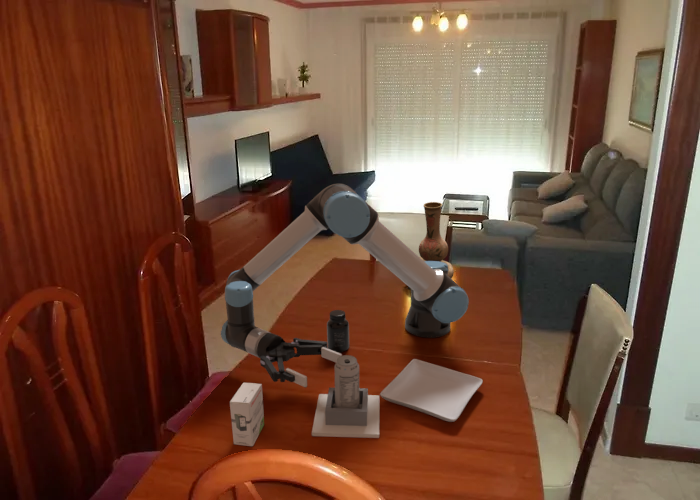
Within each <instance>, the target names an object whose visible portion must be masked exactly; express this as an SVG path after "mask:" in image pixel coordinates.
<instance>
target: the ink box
mask: <svg viewBox="0 0 700 500" xmlns="http://www.w3.org/2000/svg"><path fill="white" fill-rule="evenodd" d="M263 397H264V396H263V384H262V383H255V382H243V383H242V384H241V385H240V387H239V388H238V389H237V391H236V392H235V394H234V395H233V396H232V398H231V399H230V401H229V407H230V408H229V409H230V410H229V411H230V420H231V429H232V430H231V431H232V439H233V440H232V441H233V445H238V446H245V447H246V446H247V447H253V446H254V445H255V443H256V441H257V439H258V437H259V435H260V434H261V432H262V430H263V428H264V426H265V416H264V415H265V414H264V413H265V412H264V400H263V399H264V398H263Z"/></svg>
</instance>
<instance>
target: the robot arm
mask: <svg viewBox="0 0 700 500" xmlns="http://www.w3.org/2000/svg"><path fill="white" fill-rule="evenodd" d="M327 230H330V231H332V233H334V234H336V235H338V236H339V237H342V239H344V240H345V241H347V242H348V244H349V245H359V246H361V247H362V248H363V249H364V250H365V251H366V252H367V253H369V254H370V255H371V256H372V257H374V259H376V260H377V261H378V262H379V263H380V264H381V265H383V267H385V268H386V269H387V270H388V271H390V272H391V273H392V274H393V275H394V276H396V277H397V278H398V279H399V280H400V281H401V282H403V283H404V284H405V285H406V286H409V287H410V288H411V290H410V307H409V309H408V311H407V314H406V318H405V322H404V328H405V330H406V331H407V332H408V333H409V334H412V335H413V336H416V337H421V338H426V339H427V338H428V339H429V338H430V339H431V338H432V339H433V338H440V337H444V336H445V335H448V333H450V331H451V323H453V322H454V323H455V322H457V321H459V320H460V319H462V317H463V316H464V315H465V313H467V310H468V308H469V304H470V303H469V301H470V299H469V297H468V294H467V292H466V290H465V288H463V287H462V288H461V286H460V285H459V284H458V283H455V282H454V281H455V280H454V281H453V278H450V277H449V276H448V271H449V270H448V265H447V264H446V263H443V262H439V261H423V260H422V259H421V258H420V257H421V256H418V254H416V253H415V252H414V251H413V250H412V249H410V247H408V246H407V245H406V244H405V243H404V242H403V241H402V240H401V239H400V238H398V237H397V236H396V235H395V234H394V233H393V231H391V230H389V228H387V227H386V226H385V225H384V224H383V223H382V222H381V221H380V220H379V213H378V212H377V210H375V209H374V208H373V207H372V206H371V205H370V204H368V203H367V202H366V200H365V199H364V198H363V197H361V195H360V194H357V192H356V191H355V190H354V189H353V187H350V186H349V185H346V184H344V183H333V184H331V185H328V186H326V187H325V188H323V189H322V190H321V191H320V192H319V193H317V194H316V195H315V196H314V197H313V199H311V200H310V201H309V202H308V203H307V204H306V205H305V206H304V211H303V212H302V213H301V214H300V215H299V216H297V217H296V218H295V219H294V220H293V221H292V222H291V223H290V224H289V225H288V226H287V227H286V228H284V229H283V230H282V231H281V232H279V234H278V235H277V236H276V237H274V239H272V240H271V241H270V242H269V243H268V244H267V245H266V246H264V248H262V249H261V250H260V251H259V252H258V253H257V254H256V255H255V256H254V257H253V258H251V259H250V260H248V262H247V263H246V264H245V265H244V266H243V267H241V268H240V269H238V270H234V271H232V272H231V273H230V274H229V275H228V277H227V280H226V285H225V288H224V300H225V308H226V315H227V316H226V317H227V319H226V321H225V322H224V323H223V324H222V326H221V328H222V329H221V330H220V336H221V337H220V338H221V339H222V341H223V342H224V343H226V344H227V345H229V346H231V347H232V348H235V349H238V350H241V351H243V352H245V353H248V354H250V355H252V356H255V357H257V358H259V359H260V360H259V361H260V366H261V367H263V368H264V369H265V371H266V372H267V373H268V376H270V379H271V380H272V381H273V382H274V383H276V382H278V381H280V383H284V382H285V381H288V382H290V383H295V384H297V385H299V386H301V387H303V388H307V387H308V377H307V375H305V374H302V373H300V372H298V371H295V370H294V369H291V368H289V367H287V368H285V365H284V362H288V361H290V360H291V359H293V358H299V357H301V356H321V357H322V358H324V359H326V360H327V361H331V362H334V363H336V362H337V359H338V358H339V357H340V356H343V354H342V353H341V352H335V351H334V350H331V349H329V348H328V342H327V341H323V340H313V339H312V340H311V339H302V338H298V337H293V338H292V340H293V341H291V342H287V341H285V339H284V338H283V337H281V336H280V335H278V334H275V333H273V332H270V331H268V330H265V329H262V328H261V327H257V326H256V325H255V323H256V322H255V315H254V314H255V313H254V291H255V290H256V289H258V287H260V286H261V285H262V284H263V283H264V282H265V281H266V280H267V279H268V278H269V277H271V276H272V275H273V274H275V272H276V271H278V270H279V269H280V268H281V267H282V266H283V265H284V264H286V262H288V261H289V260H290V259H291V258H292V257H293V256H294V255H296V254H297V252H299V251H300V250H301V249H302V248H303V247H304V246H305V245H306V244H307V243H309V242H310V241H311V240H312V239H313V238H315V236H316V235H318V234H319V233H320V232H322V231H327ZM295 349H296V351H295ZM275 362H277V363H276V364H277V367H278V370H277V369H276V367H275V366H274V364H273V363H275Z"/></svg>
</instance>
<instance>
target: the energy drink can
mask: <svg viewBox="0 0 700 500" xmlns="http://www.w3.org/2000/svg"><path fill="white" fill-rule="evenodd" d="M333 368H334V388H335V408H350V409H359V388H360V364H359V363H358V359H357V358H356V357H355V356H354V355H350V354H348V355H347V354H345V355H343V354H342V356H340V357H339V358H338V359H337V362H335V364H334V367H333Z"/></svg>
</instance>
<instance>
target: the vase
mask: <svg viewBox="0 0 700 500" xmlns="http://www.w3.org/2000/svg"><path fill="white" fill-rule="evenodd" d="M442 207H443V203H441V202H438V201H429V202H425V203H423V209H424V215H425V223H426V234H425V237H424V238H423V239H422V240H421V241H420V243H419V245H418V254H419V257H420V258H421V259H422V260H423V261H439V262H443V263H446V264H447V265H448V270H449V271H448V276H449V277H450V278H451V279H453V276H454V273H455V272H454V268H453V265H452V264H451V262H448V261H446V260H445V258H447V256H448V253H449V246H448V243H447V241H446V240H445V239H444V238H443V237H442V235H441V230H440V228H441V214H442ZM405 289H406V290H410V291H411V288H410V287H409V286H408V287H406V288H405Z"/></svg>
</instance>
